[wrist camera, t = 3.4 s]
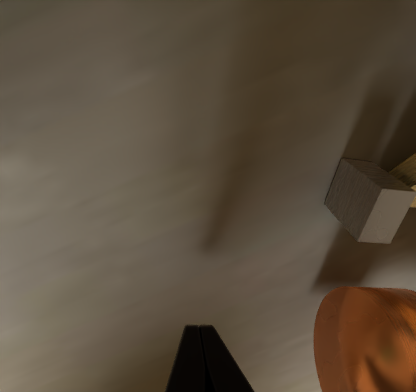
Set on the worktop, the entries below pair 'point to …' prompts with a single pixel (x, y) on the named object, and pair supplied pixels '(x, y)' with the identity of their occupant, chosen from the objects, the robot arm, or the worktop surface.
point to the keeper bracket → (368, 201)
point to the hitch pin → (366, 340)
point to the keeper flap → (407, 174)
